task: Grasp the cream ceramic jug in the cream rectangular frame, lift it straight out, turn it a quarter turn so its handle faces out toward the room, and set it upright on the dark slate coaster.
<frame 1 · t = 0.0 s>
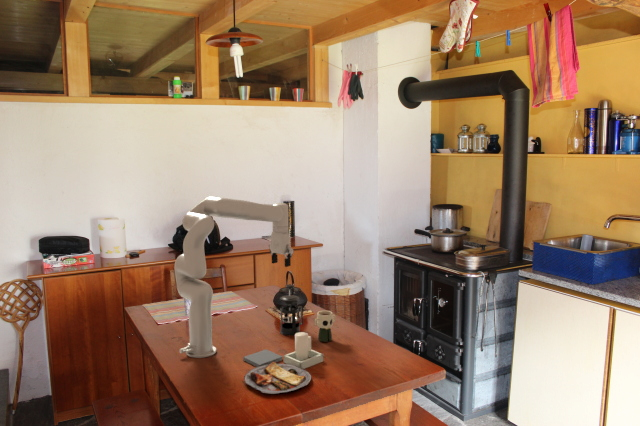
hand: (281, 264, 264), 31 cm above the table, tool pointing down, fingers open, 9 cm apart
cream jug: (301, 362, 226), resting in cream rectangular frame
cream rectangular frame: (303, 361, 227), on the table
character mug: (325, 340, 251), on the table
food plate: (277, 382, 209), on the table
french press: (291, 332, 261), on the table
slate coaster: (263, 360, 229), on the table
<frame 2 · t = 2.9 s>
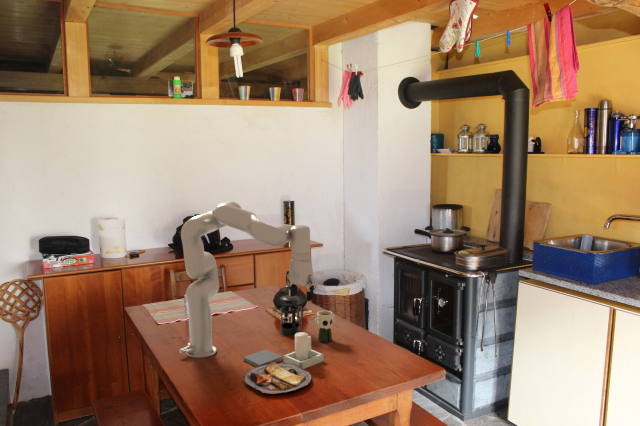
hand: (302, 298, 222), 27 cm above the table, tool pointing down, fingers open, 9 cm apart
nothing on the table moved.
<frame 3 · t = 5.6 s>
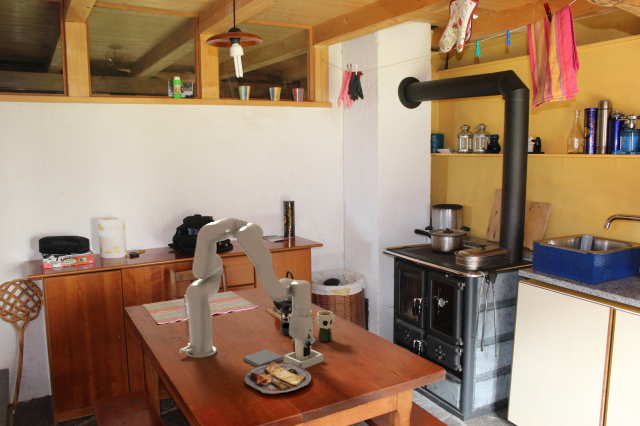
hand: (301, 353, 226), 4 cm above the table, tool pointing down, fingers closed on cream jug, 5 cm apart
cream jug: (301, 362, 226), resting in cream rectangular frame, touching gripper
everything else where it was.
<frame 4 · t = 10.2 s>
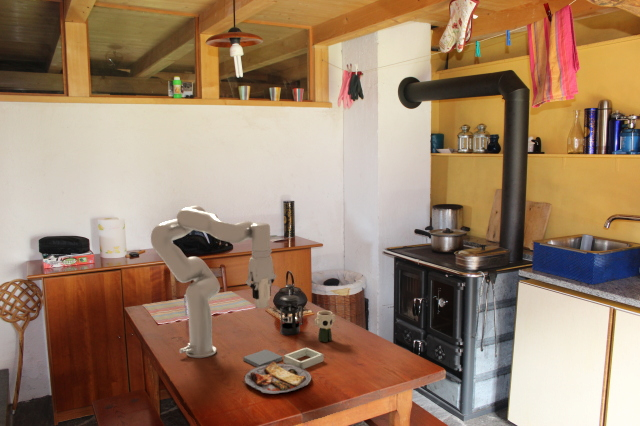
hand: (261, 296, 225), 27 cm above the table, tool pointing down, fingers closed on cream jug, 5 cm apart
cream jug: (262, 306, 226), point 23 cm above the table, touching gripper
everything else where it was.
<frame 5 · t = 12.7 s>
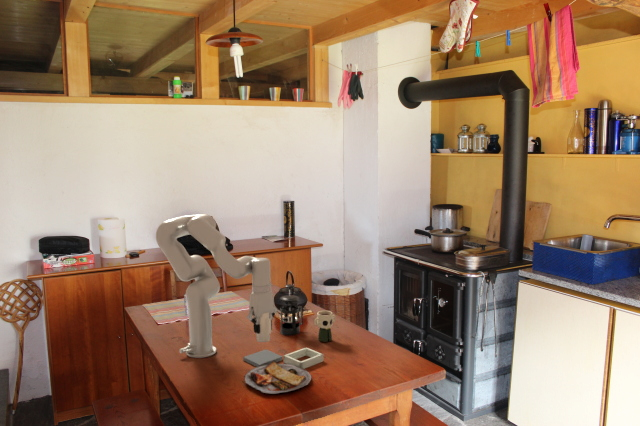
hand: (263, 330, 227), 13 cm above the table, tool pointing down, fingers closed on cream jug, 5 cm apart
cream jug: (263, 339, 227), point 9 cm above the table, touching gripper
everything else where it was.
when the fingers open (7 cm above the table, at t = 14.8 s): cream jug drops 1 cm, resting on slate coaster.
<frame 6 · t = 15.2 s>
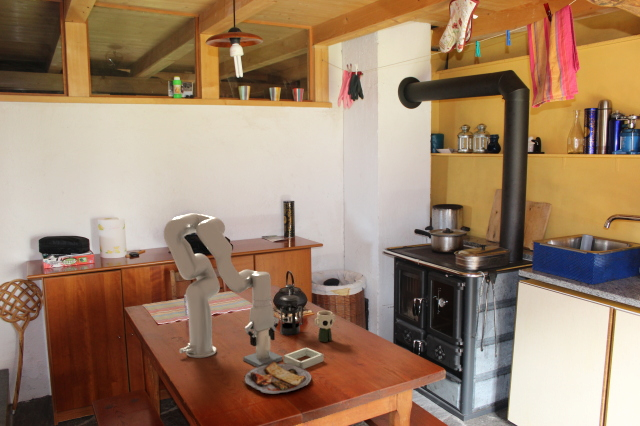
hand: (262, 342, 228), 8 cm above the table, tool pointing down, fingers open, 9 cm apart
cream jug: (262, 356, 228), point 2 cm above the table, touching slate coaster
everything else where it was.
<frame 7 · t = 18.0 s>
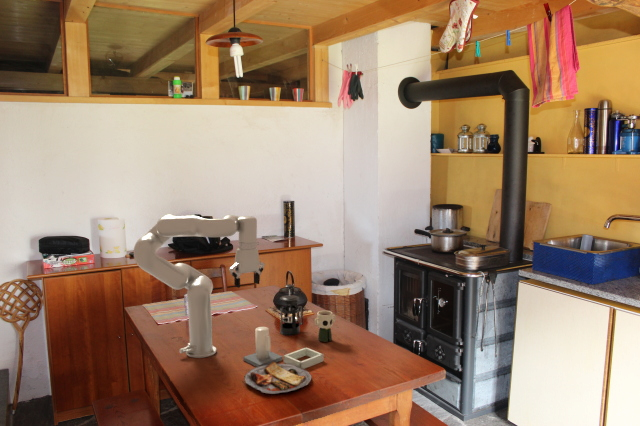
hand: (247, 285, 235), 29 cm above the table, tool pointing down, fingers open, 9 cm apart
nothing on the table moved.
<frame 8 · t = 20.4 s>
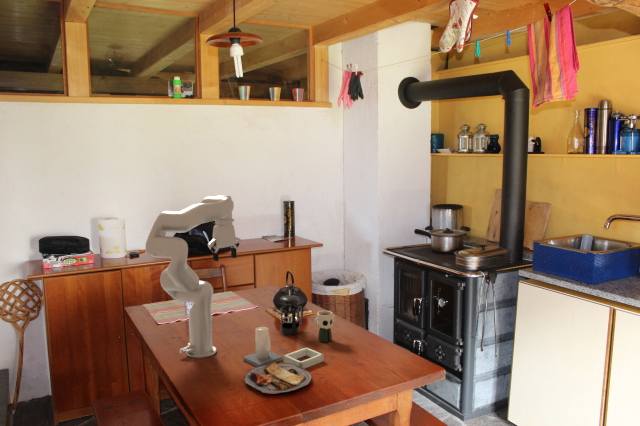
hand: (225, 259, 253), 36 cm above the table, tool pointing down, fingers open, 9 cm apart
nothing on the table moved.
at the end: cream jug inside the target area on the slate coaster (0.2 cm from its centre), point 1.5 cm above the slate coaster's base; cream jug tilted 0°; the gripper is holding nothing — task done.
